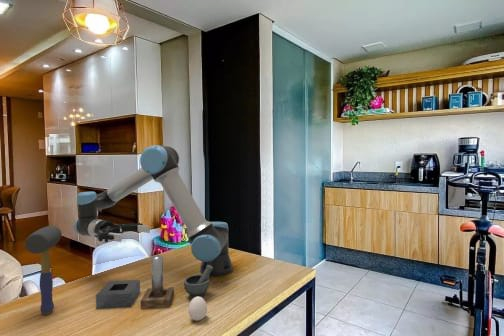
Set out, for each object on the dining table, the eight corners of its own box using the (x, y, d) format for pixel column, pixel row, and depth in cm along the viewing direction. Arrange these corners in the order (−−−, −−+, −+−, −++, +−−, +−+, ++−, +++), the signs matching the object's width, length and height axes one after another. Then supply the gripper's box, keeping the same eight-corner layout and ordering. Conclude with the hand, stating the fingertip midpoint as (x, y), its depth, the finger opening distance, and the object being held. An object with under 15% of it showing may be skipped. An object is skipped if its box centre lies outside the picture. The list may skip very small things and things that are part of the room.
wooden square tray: (174, 294, 117) (173, 287, 117) (169, 307, 107) (169, 299, 107) (147, 296, 116) (147, 288, 116) (140, 309, 106) (140, 300, 106)
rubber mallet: (51, 321, 99) (48, 232, 98) (26, 324, 97) (22, 233, 96) (66, 303, 111) (63, 223, 110) (43, 305, 109) (40, 224, 108)
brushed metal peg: (164, 296, 114) (163, 254, 113) (162, 301, 110) (161, 258, 109) (153, 296, 113) (152, 255, 113) (151, 301, 109) (150, 258, 109)
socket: (140, 291, 120) (139, 279, 119) (130, 307, 108) (130, 293, 107) (109, 293, 119) (108, 281, 118) (96, 308, 107) (95, 295, 106)
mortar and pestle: (185, 305, 109) (184, 272, 108) (183, 293, 118) (182, 263, 117) (215, 300, 112) (215, 268, 112) (211, 289, 121) (210, 260, 120)
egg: (207, 313, 102) (206, 292, 102) (207, 323, 96) (206, 300, 96) (189, 315, 102) (188, 293, 101) (188, 325, 96) (187, 302, 95)
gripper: (127, 230, 139) (159, 235, 129) (73, 245, 117) (107, 252, 107) (126, 214, 139) (158, 217, 129) (72, 226, 117) (106, 231, 107)
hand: (135, 233), depth 118 cm, fingers open, 13 cm apart
